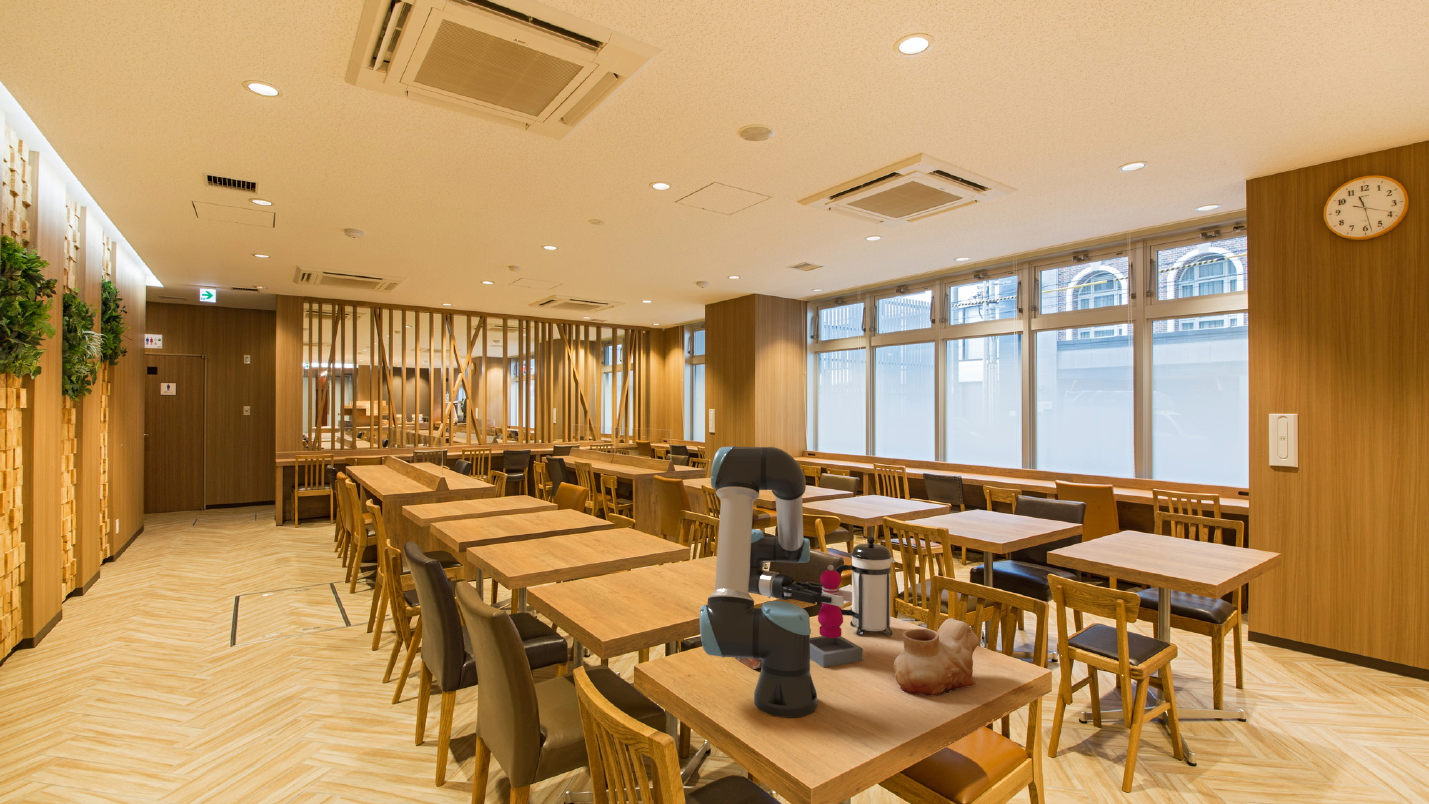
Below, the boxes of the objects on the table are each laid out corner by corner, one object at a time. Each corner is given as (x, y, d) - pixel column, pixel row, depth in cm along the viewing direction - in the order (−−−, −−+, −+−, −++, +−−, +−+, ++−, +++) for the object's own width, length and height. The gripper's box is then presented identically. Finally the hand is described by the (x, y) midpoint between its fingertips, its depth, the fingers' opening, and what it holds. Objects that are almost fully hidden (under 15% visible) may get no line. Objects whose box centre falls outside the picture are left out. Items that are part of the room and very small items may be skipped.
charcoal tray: (823, 667, 180) (823, 654, 180) (799, 651, 192) (799, 639, 192) (862, 660, 185) (862, 648, 185) (836, 645, 197) (836, 633, 197)
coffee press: (863, 619, 222) (863, 530, 222) (904, 631, 210) (904, 537, 210) (830, 630, 211) (830, 536, 211) (871, 643, 198) (871, 544, 199)
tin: (730, 655, 188) (730, 626, 188) (739, 653, 190) (739, 624, 190) (759, 674, 175) (760, 642, 175) (769, 671, 177) (769, 640, 177)
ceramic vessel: (994, 682, 171) (994, 624, 171) (921, 703, 158) (921, 641, 158) (951, 664, 183) (951, 610, 183) (881, 682, 170) (881, 624, 170)
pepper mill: (841, 630, 192) (842, 562, 192) (844, 639, 185) (844, 568, 185) (817, 629, 193) (817, 561, 193) (818, 638, 185) (818, 567, 186)
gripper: (792, 591, 207) (860, 605, 193) (761, 605, 192) (832, 620, 178) (792, 567, 207) (860, 579, 193) (761, 579, 192) (833, 593, 178)
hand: (847, 599), depth 186 cm, fingers closed on pepper mill, 5 cm apart
